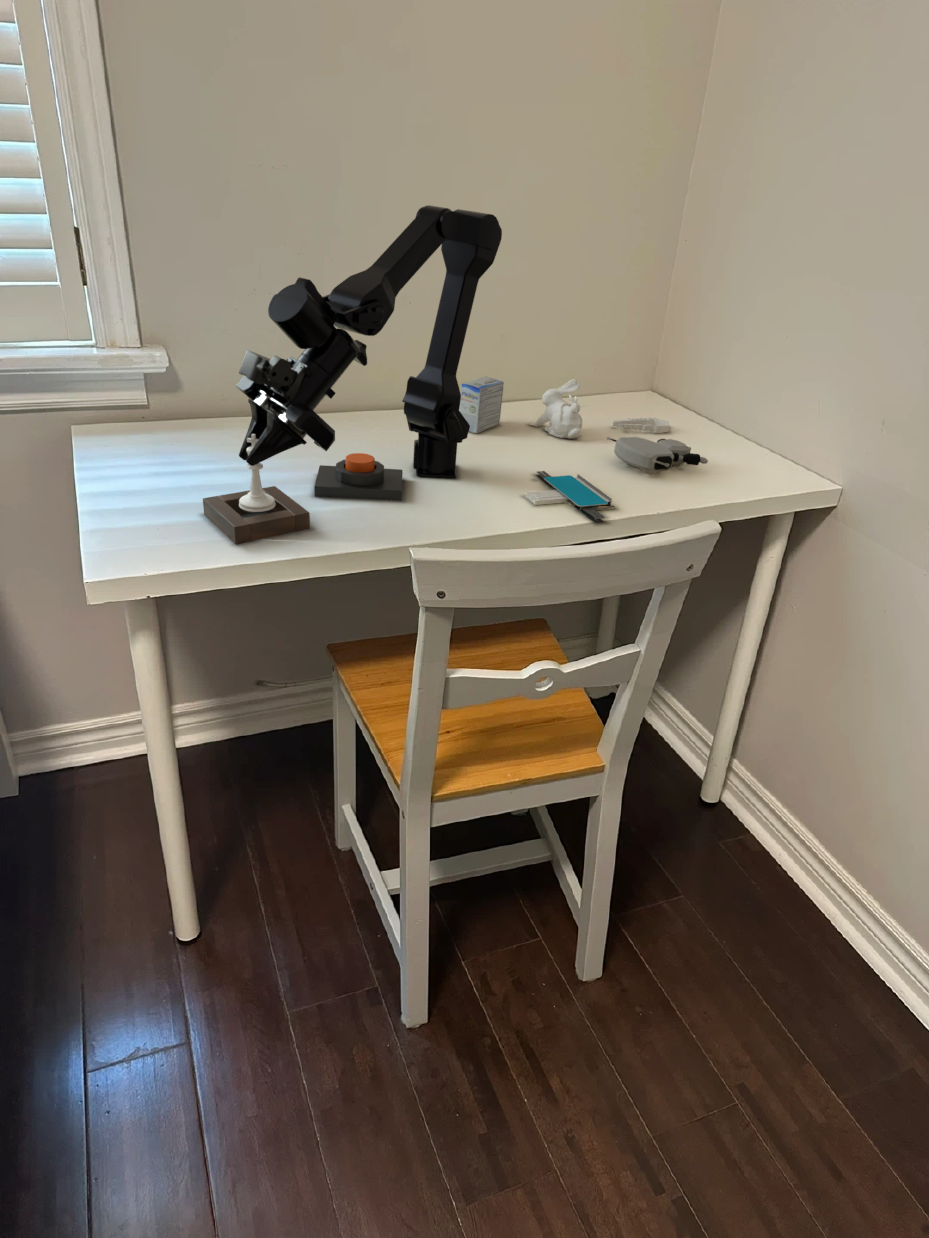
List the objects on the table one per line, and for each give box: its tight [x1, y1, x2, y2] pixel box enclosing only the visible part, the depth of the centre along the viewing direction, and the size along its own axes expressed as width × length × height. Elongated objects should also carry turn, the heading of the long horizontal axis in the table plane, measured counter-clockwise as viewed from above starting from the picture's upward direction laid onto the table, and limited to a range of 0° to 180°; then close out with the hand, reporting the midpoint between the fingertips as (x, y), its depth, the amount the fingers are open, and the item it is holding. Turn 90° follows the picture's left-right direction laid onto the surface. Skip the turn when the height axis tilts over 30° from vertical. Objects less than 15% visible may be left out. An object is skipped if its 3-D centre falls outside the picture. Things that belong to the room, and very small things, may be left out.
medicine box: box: [459, 376, 505, 434], centre depth 162 cm, size 8×4×9 cm, turn 144°
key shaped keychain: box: [612, 416, 670, 434], centre depth 170 cm, size 13×5×2 cm, turn 114°
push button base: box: [313, 458, 403, 502], centre depth 132 cm, size 13×9×4 cm
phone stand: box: [524, 470, 616, 524], centre depth 135 cm, size 20×12×2 cm, turn 22°
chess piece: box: [239, 434, 276, 513], centre depth 115 cm, size 5×5×10 cm
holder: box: [202, 485, 311, 545], centre depth 118 cm, size 11×11×2 cm
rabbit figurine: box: [529, 378, 584, 440], centre depth 163 cm, size 12×8×10 cm, turn 32°
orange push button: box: [345, 452, 376, 473], centre depth 131 cm, size 4×4×2 cm
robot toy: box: [606, 436, 709, 475], centre depth 151 cm, size 12×4×15 cm
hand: (245, 461), depth 114 cm, fingers closed on chess piece
